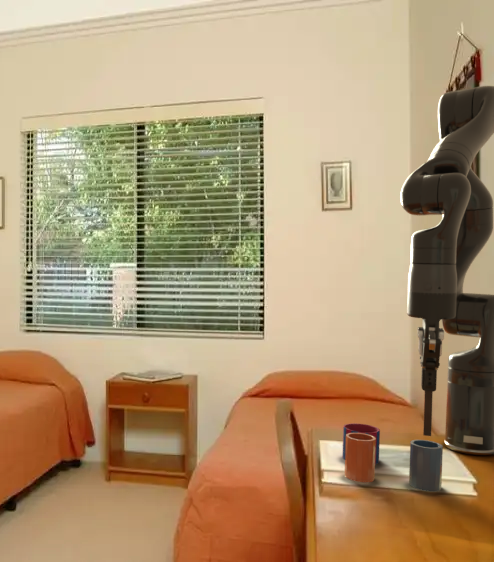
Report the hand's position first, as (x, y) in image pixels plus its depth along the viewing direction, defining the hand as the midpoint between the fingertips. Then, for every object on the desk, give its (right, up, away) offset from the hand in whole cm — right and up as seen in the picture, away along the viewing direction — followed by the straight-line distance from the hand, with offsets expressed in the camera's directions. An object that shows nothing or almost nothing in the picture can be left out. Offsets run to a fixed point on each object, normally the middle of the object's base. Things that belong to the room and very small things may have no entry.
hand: (428, 389), depth 104 cm
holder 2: (0, -18, +1) cm, 18 cm away
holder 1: (-10, -17, +4) cm, 21 cm away
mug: (-7, -17, +13) cm, 23 cm away
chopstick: (0, -8, 0) cm, 8 cm away
